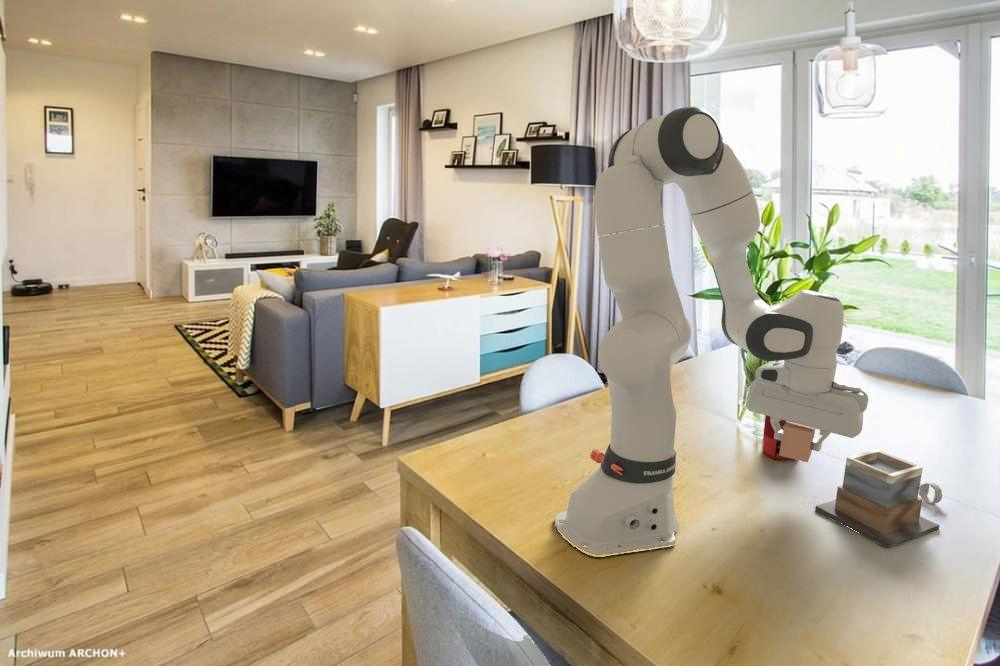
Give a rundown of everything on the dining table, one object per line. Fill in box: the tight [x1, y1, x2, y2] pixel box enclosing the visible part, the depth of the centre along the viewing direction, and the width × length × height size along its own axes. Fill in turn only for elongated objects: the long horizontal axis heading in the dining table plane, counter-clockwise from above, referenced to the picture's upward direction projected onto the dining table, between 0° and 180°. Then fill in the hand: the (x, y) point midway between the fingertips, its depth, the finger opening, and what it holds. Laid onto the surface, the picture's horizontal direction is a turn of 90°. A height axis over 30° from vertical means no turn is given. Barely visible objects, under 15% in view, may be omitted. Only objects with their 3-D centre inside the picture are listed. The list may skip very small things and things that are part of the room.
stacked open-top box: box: [814, 448, 940, 550], centre depth 110 cm, size 14×14×12 cm
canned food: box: [761, 415, 796, 462], centre depth 138 cm, size 8×8×11 cm
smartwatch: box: [918, 482, 943, 505], centre depth 117 cm, size 4×2×4 cm, turn 14°
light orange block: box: [779, 421, 816, 463], centre depth 117 cm, size 5×5×6 cm
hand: (796, 444), depth 117 cm, fingers closed on light orange block, 5 cm apart
